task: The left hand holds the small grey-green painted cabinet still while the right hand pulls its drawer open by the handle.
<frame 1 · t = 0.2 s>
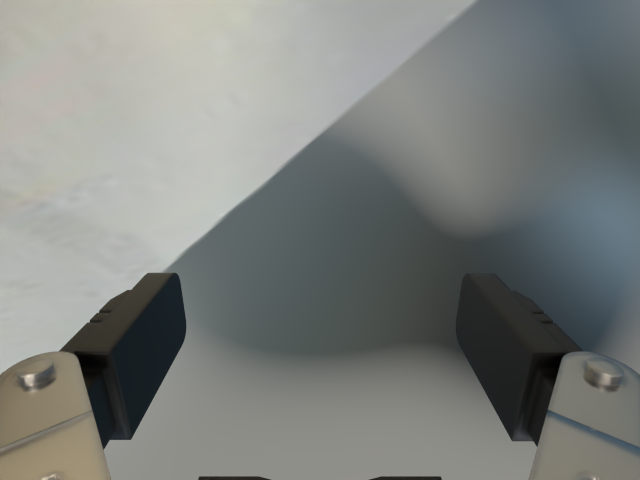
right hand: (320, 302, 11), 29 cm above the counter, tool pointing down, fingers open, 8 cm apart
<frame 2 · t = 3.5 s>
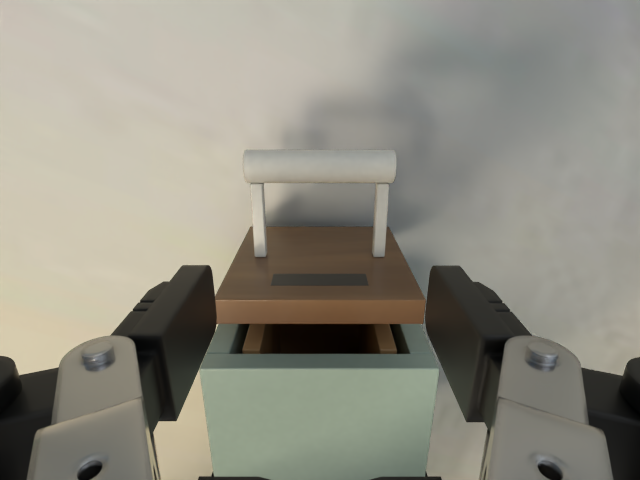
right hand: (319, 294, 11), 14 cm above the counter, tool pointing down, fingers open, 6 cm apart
cabinet: (319, 338, 29), on the counter, touching left hand
drawer: (319, 307, 22), point 6 cm above the counter, slide at 1.5 cm
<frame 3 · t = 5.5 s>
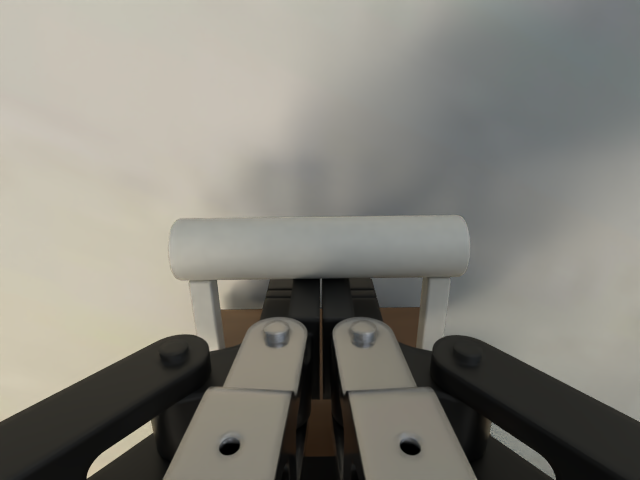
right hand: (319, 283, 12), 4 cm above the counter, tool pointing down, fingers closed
drawer: (322, 466, 13), point 6 cm above the counter, slide at 2.1 cm, touching right hand
when the left hand's fingers open (6 cm above the counter, at t = 7.8 s): cabinet stays where it is, on the counter.
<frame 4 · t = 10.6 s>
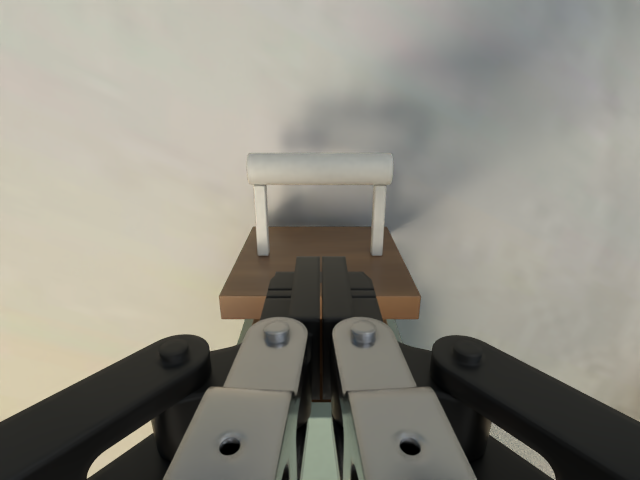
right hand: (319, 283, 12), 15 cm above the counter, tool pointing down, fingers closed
cabinet: (319, 369, 31), on the counter
drawer: (319, 304, 23), point 6 cm above the counter, slide at 4.7 cm
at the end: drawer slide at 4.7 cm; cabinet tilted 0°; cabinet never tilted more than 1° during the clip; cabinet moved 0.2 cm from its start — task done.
